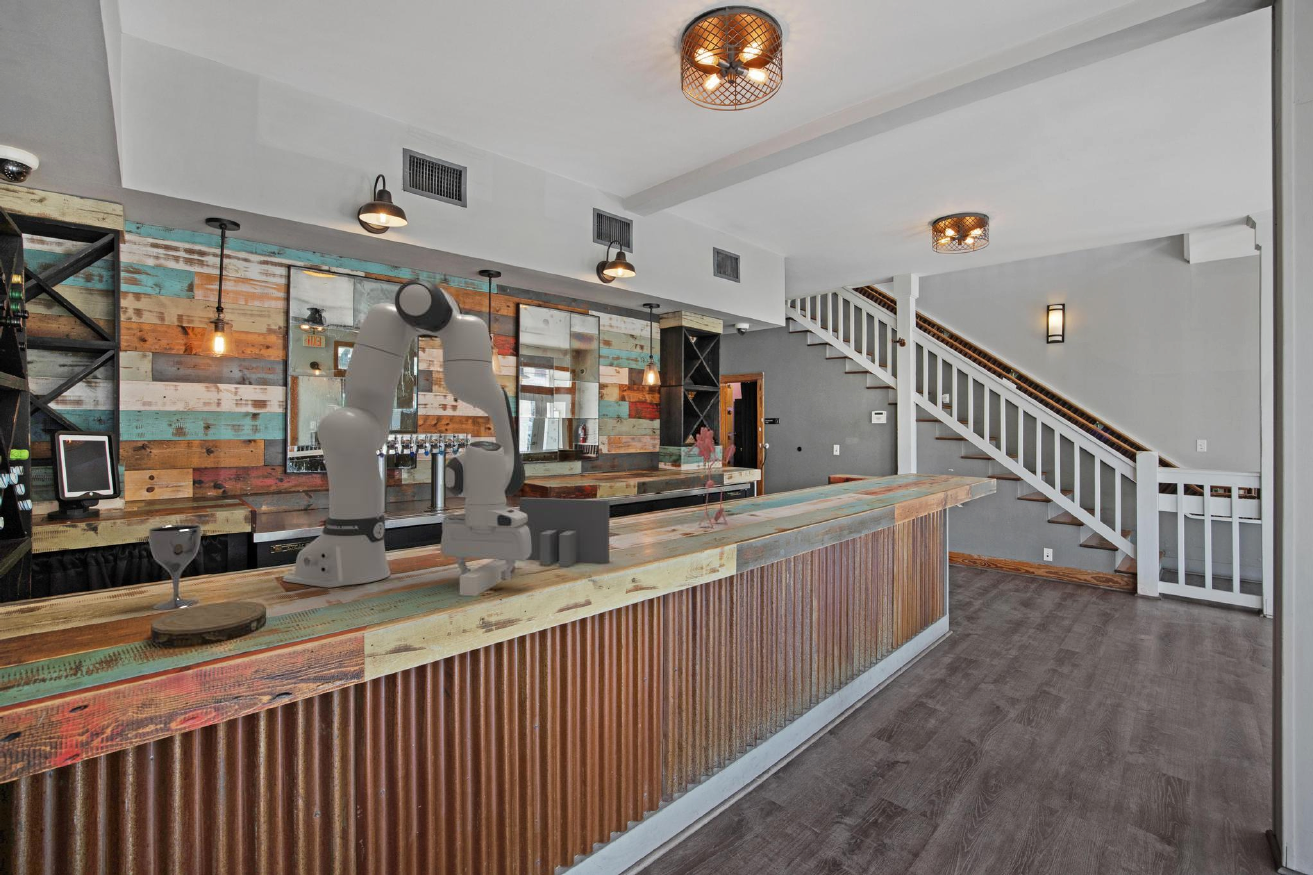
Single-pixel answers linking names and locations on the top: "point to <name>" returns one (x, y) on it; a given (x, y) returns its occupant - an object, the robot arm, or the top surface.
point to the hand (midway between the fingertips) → (485, 578)
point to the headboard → (567, 530)
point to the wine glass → (175, 556)
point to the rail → (482, 578)
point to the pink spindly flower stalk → (705, 450)
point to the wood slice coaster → (208, 624)
